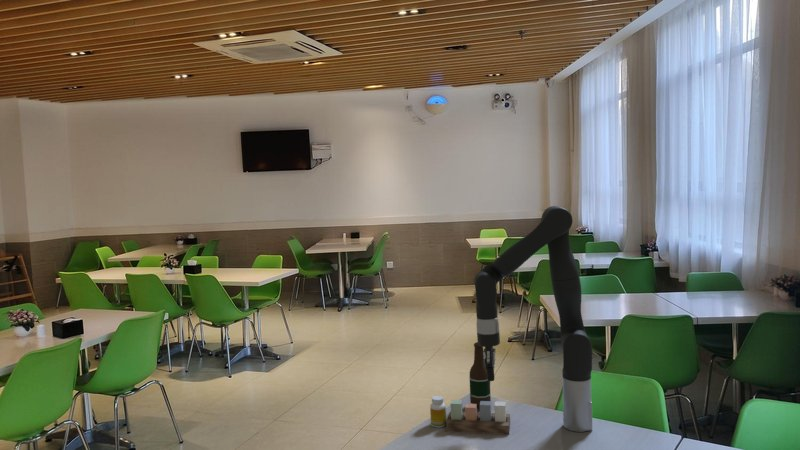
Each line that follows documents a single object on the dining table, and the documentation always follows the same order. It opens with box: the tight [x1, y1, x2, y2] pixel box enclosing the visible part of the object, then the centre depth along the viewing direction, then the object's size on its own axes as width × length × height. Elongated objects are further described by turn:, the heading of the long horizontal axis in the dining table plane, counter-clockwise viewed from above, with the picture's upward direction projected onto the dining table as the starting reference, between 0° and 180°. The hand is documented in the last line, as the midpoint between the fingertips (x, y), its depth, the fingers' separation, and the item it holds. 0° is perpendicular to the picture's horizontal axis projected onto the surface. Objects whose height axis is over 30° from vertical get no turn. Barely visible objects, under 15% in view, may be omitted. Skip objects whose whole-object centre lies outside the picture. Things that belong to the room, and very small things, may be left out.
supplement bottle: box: [429, 395, 447, 429], centre depth 213 cm, size 5×5×10 cm
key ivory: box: [494, 401, 507, 422], centre depth 208 cm, size 4×4×6 cm
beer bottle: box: [469, 341, 492, 410], centre depth 228 cm, size 8×8×24 cm
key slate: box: [479, 401, 492, 421], centre depth 209 cm, size 4×4×6 cm
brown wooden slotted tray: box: [445, 410, 511, 435], centre depth 210 cm, size 21×10×3 cm, turn 78°
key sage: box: [450, 399, 464, 420], centre depth 212 cm, size 4×4×6 cm
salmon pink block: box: [464, 403, 478, 421], centre depth 211 cm, size 4×4×6 cm
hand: (491, 380), depth 208 cm, fingers closed
